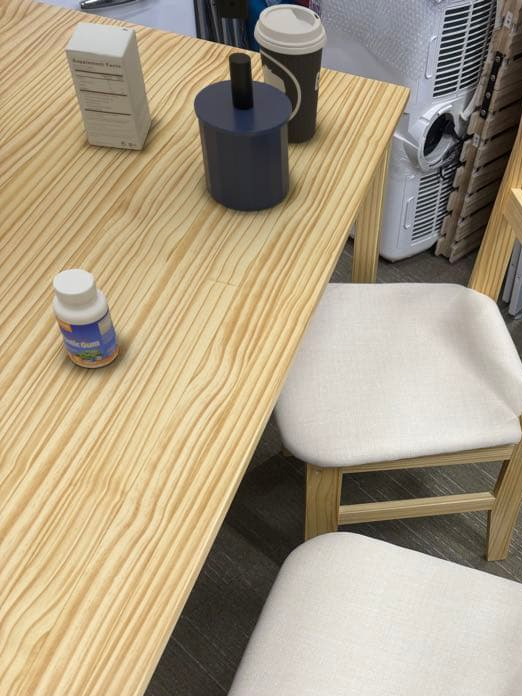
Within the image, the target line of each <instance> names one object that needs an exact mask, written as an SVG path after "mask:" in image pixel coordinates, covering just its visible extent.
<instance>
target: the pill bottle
mask: <svg viewBox="0 0 522 696" xmlns="http://www.w3.org/2000/svg"><path fill="white" fill-rule="evenodd" d="M52 286H53V289H54V293H55V295H54V297H53V300H52V309H53V313H54V315H55V319H56V322H57V325H58V327H59V330H60V333H61V336H62V339H63V342H64V346H65V348H66V351H67V354H68V357H69V358H70V360H71V361H72V362H73V363H75V364H76V365H78V366H79V367H83V368H86V369H87V368H88V369H97V368H101V367H104V366H107V365H109V364H110V363H112V362H113V361H114V360H115V359H116V358H117V356H118V354H119V351H120V345H119V341H118V337H117V333H116V329H115V326H114V321H113V318H112V314H111V310H110V307H109V303H108V301H107V297H106V295H105V294H104V292H102V291H101V289H99V288H97V287H98V286H97V284H96V282H95V279H94V276H93V274H92V273H90V272H89V271H87V270H84V269H80V268H69V269H65V270H62V271H60V272H59V273H58V274H56V275H55V276H54V278H53V281H52Z"/></svg>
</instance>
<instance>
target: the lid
mask: <svg viewBox="0 0 522 696" xmlns="http://www.w3.org/2000/svg"><path fill="white" fill-rule="evenodd" d="M228 68H229V79H226V80H220V81H216V82H213V83H211V84H208V85H207V86H205V87H204V88H202V89H201V90H199V92H198V93H197V94H196V95H195V97H194V101H193V109H194V113H195V116H196V118H197V120H198V119H199V120H200V121H201V122H202V123H203V124H204V125H206V126H207V127H209V128H211V129H213V130H215V131H218V132H221V133H224V134H228V135H234V136H259V135H264V134H268V133H272V132H274V131H276V130H278V129H280V128H282V127H283V126H284V125H286V124H287V123H288V121H289V120H290V118H291V115H292V104H291V102H290V100H289V98H288V97H287V96H286V94H284V93H283V92H282V91H281V90H279V89H278V88H276V87H274V86H272V85H269V84H266V83H264V81H259V80H254V79H253V72H252V71H253V70H252V69H253V68H252V58H251V56H250V55H249V54H247V53H244V52H234V53H231V54H229V56H228Z"/></svg>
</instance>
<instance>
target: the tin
mask: <svg viewBox="0 0 522 696" xmlns="http://www.w3.org/2000/svg"><path fill="white" fill-rule="evenodd" d="M197 122H198V131H199V139H200V146H201V152H202V162H203V169H204V178H205V184H206V187H207V191H208V194H209V196H210V197H211V198H212V199H213V200H214V201H215V202H217V204H219V205H222V206H223V207H225V208H228V209H231V210H235V211H239V212H240V211H242V212H260V211H264V210H269V209H272V208H274V207H277V206H278V205H280V204H281V203H282V202H283V201H284V200H286V198H287V197H288V195H289V192H290V161H289V160H290V159H289V158H290V157H289V143H288V123H287V124H286V125H284V126H283V127H282V128H280V129H278V130H276V131H274V132H272V133H268V134H264V135H259V136H234V135H228V134H224V133H221V132H218V131H215V130H213V129H211V128H209V127H207V126H206V125H204V124H203V123H202V122H201V121H200V120H199V119H198V118H197Z"/></svg>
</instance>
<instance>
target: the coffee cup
mask: <svg viewBox="0 0 522 696" xmlns="http://www.w3.org/2000/svg"><path fill="white" fill-rule="evenodd" d="M253 36H254V39H255V40H256V42H257V43H258V47H259V48H258V49H259V54H260V55H259V56H260V63H261V68H262V70H261V71H262V76H263V83H266V84H269V85H272V86H274V87H276V88H278V89H279V90H281V91H282V92H283V93H284V94H286V96H287V97H288V98H289V100H290V102H291V104H292V115H291V118H290V120H289V121H288V144H302V143H306V142H309V141H311V140H312V139H313V138H314V137H315V135H316V126H317V114H318V103H319V92H320V80H321V71H322V70H321V69H322V68H321V67H322V58H323V49H324V46H325V45H326V43H327V40H328V37H327V32H326V30H325V27H324V25H323V24H322V20H321V18H320V16H319V14H318V13H317V12H315V11H314V10H312V9H311V8H308V7H305V6H302V5H298V4H288V3H285V4H284V3H283V4H282V3H281V4H274V5H271V6H268V7H266V8H264V9H263V10H262V11H261V12H260V14H259V18H258V20H257V21H256V23H255V26H254V31H253Z"/></svg>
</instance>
